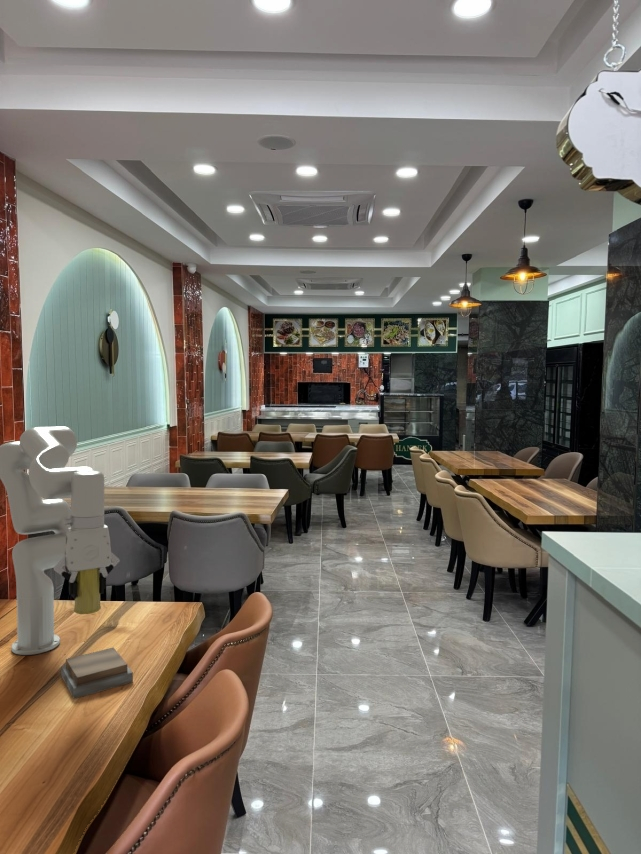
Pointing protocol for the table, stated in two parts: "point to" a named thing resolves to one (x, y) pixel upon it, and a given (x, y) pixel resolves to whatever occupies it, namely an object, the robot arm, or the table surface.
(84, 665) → the stand
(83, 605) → the vase
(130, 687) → the table surface
